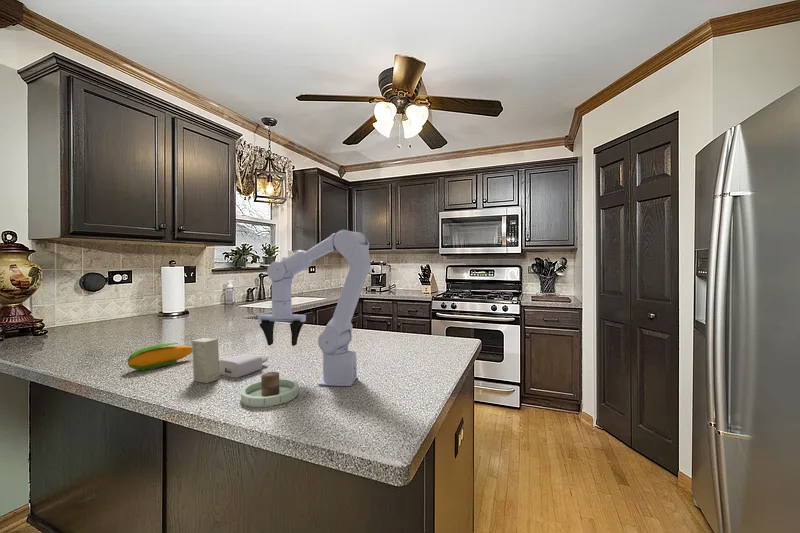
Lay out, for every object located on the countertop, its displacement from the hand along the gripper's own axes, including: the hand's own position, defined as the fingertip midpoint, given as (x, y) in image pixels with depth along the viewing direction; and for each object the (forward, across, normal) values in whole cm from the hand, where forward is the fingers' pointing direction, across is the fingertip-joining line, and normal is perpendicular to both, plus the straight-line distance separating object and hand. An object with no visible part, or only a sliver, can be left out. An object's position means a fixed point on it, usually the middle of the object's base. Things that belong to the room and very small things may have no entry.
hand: (282, 344), depth 106 cm
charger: (+10, +14, -5) cm, 18 cm away
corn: (+10, +46, -7) cm, 47 cm away
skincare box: (+10, +21, +6) cm, 24 cm away
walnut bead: (+9, -4, +16) cm, 19 cm away
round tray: (+9, -4, +16) cm, 19 cm away
